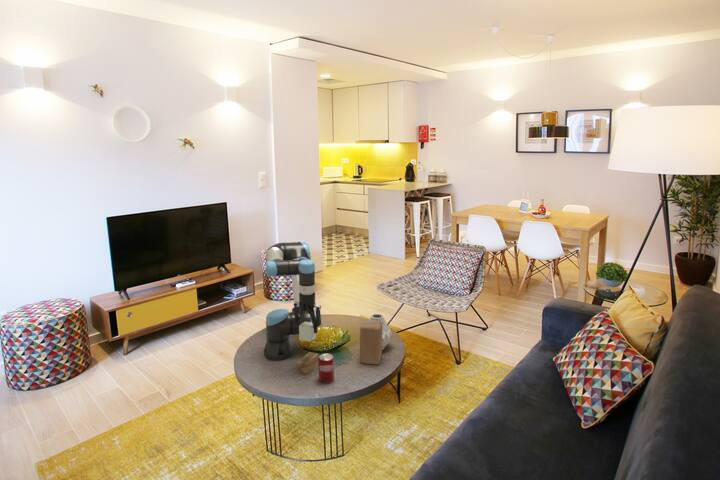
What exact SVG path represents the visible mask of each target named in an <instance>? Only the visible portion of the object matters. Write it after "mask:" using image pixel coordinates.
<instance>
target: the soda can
mask: <svg viewBox="0 0 720 480" xmlns="http://www.w3.org/2000/svg"><path fill="white" fill-rule="evenodd" d="M317 367H318V370H317V372H318V381H319V383H321V384H324V385H327V384H331V383H333V382H334V380H335V356H334V355H333V354H330V353H322V354H321V355H318V365H317Z"/></svg>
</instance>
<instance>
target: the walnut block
mask: <svg viewBox="0 0 720 480" xmlns="http://www.w3.org/2000/svg"><path fill="white" fill-rule="evenodd" d="M318 358H319V353H316V352H310V351H308V353H306V355H304V356H303V357H302V358H301V359H299V361H297V366H296V367H297V374H299V375H303V376H306V377H307V376H308V375H309V374H310V373H311V372H312V371H314V369H315V368H316V367H318Z"/></svg>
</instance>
